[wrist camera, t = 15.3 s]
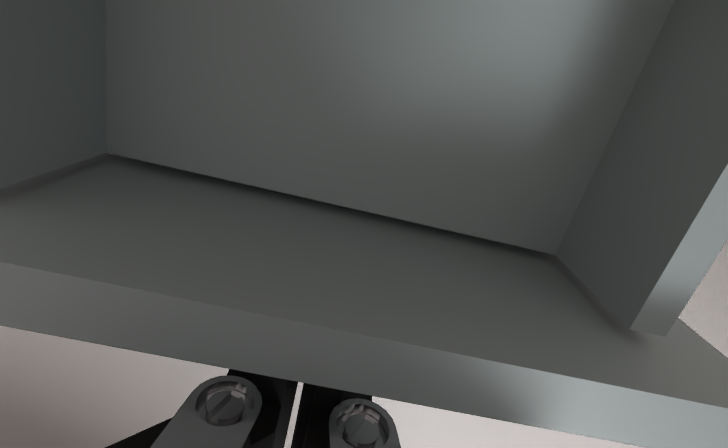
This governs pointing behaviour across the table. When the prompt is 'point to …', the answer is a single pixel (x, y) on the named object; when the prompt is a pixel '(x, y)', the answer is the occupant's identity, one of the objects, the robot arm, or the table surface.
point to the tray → (381, 197)
